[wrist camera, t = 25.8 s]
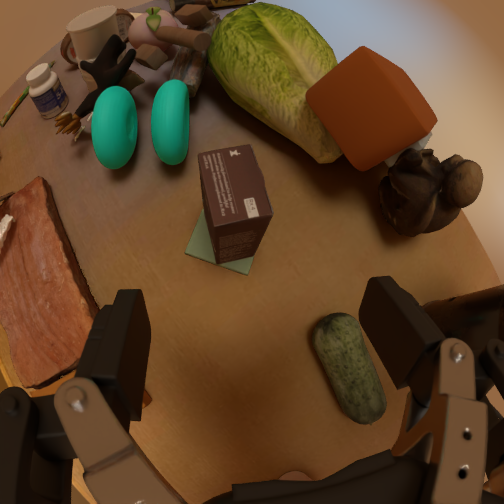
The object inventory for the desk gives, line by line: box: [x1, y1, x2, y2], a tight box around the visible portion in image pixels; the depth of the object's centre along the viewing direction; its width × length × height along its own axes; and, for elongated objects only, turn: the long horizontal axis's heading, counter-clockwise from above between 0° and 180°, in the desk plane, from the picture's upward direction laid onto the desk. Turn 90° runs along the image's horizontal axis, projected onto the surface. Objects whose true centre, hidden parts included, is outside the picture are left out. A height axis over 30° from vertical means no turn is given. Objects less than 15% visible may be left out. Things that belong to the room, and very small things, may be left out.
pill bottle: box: [26, 63, 68, 119], centre depth 29 cm, size 5×5×9 cm
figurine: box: [55, 34, 136, 134], centre depth 25 cm, size 11×7×15 cm
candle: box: [66, 6, 130, 93], centre depth 28 cm, size 7×7×15 cm
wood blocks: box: [74, 4, 214, 142], centre depth 28 cm, size 25×3×10 cm
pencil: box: [0, 60, 55, 126], centre depth 33 cm, size 1×1×18 cm
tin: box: [60, 9, 135, 65], centre depth 34 cm, size 15×3×8 cm, turn 132°
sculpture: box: [379, 148, 483, 237], centre depth 27 cm, size 11×11×15 cm
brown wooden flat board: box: [0, 176, 152, 409], centre depth 24 cm, size 13×30×3 cm, turn 34°
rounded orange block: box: [305, 46, 437, 171], centre depth 29 cm, size 24×8×11 cm
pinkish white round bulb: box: [128, 7, 179, 51], centre depth 33 cm, size 9×8×10 cm
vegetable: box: [312, 313, 387, 425], centre depth 26 cm, size 14×5×5 cm, turn 24°
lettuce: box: [206, 2, 343, 163], centre depth 31 cm, size 15×25×16 cm
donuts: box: [91, 79, 189, 169], centre depth 28 cm, size 10×10×10 cm
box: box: [198, 144, 273, 264], centre depth 25 cm, size 6×4×12 cm
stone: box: [170, 11, 221, 98], centre depth 33 cm, size 17×5×10 cm
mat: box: [185, 208, 255, 275], centre depth 31 cm, size 7×7×1 cm
